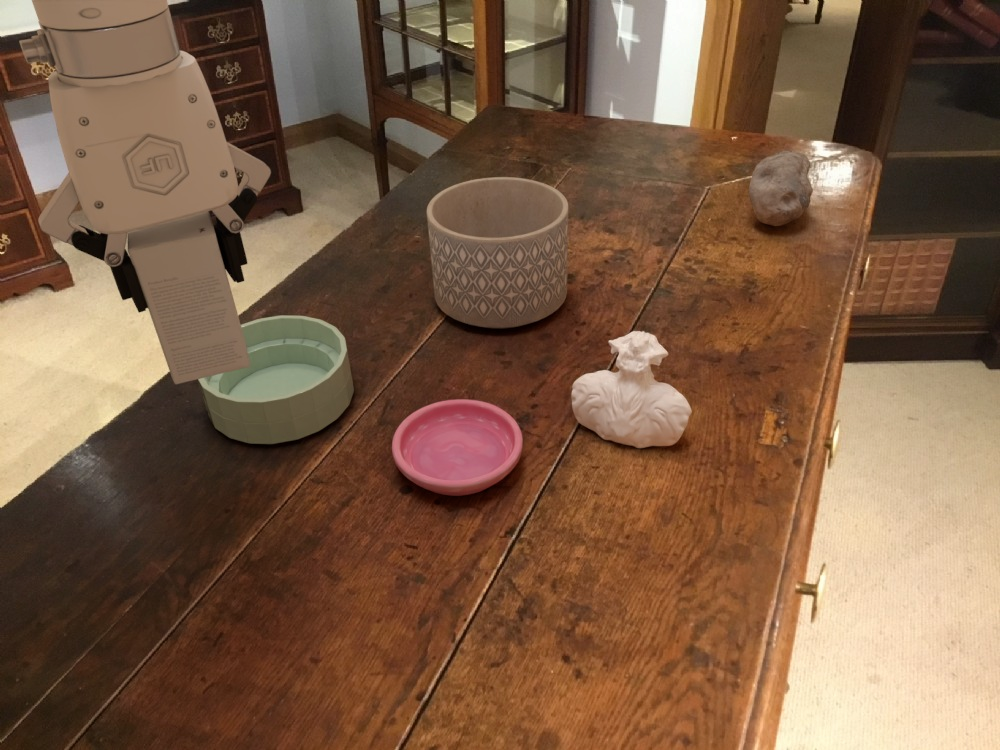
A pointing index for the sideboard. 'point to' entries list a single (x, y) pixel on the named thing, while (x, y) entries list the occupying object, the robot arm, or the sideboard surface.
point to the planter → (499, 251)
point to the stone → (780, 188)
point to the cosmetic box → (189, 297)
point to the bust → (631, 397)
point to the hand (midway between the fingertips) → (187, 287)
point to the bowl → (282, 382)
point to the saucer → (457, 446)
